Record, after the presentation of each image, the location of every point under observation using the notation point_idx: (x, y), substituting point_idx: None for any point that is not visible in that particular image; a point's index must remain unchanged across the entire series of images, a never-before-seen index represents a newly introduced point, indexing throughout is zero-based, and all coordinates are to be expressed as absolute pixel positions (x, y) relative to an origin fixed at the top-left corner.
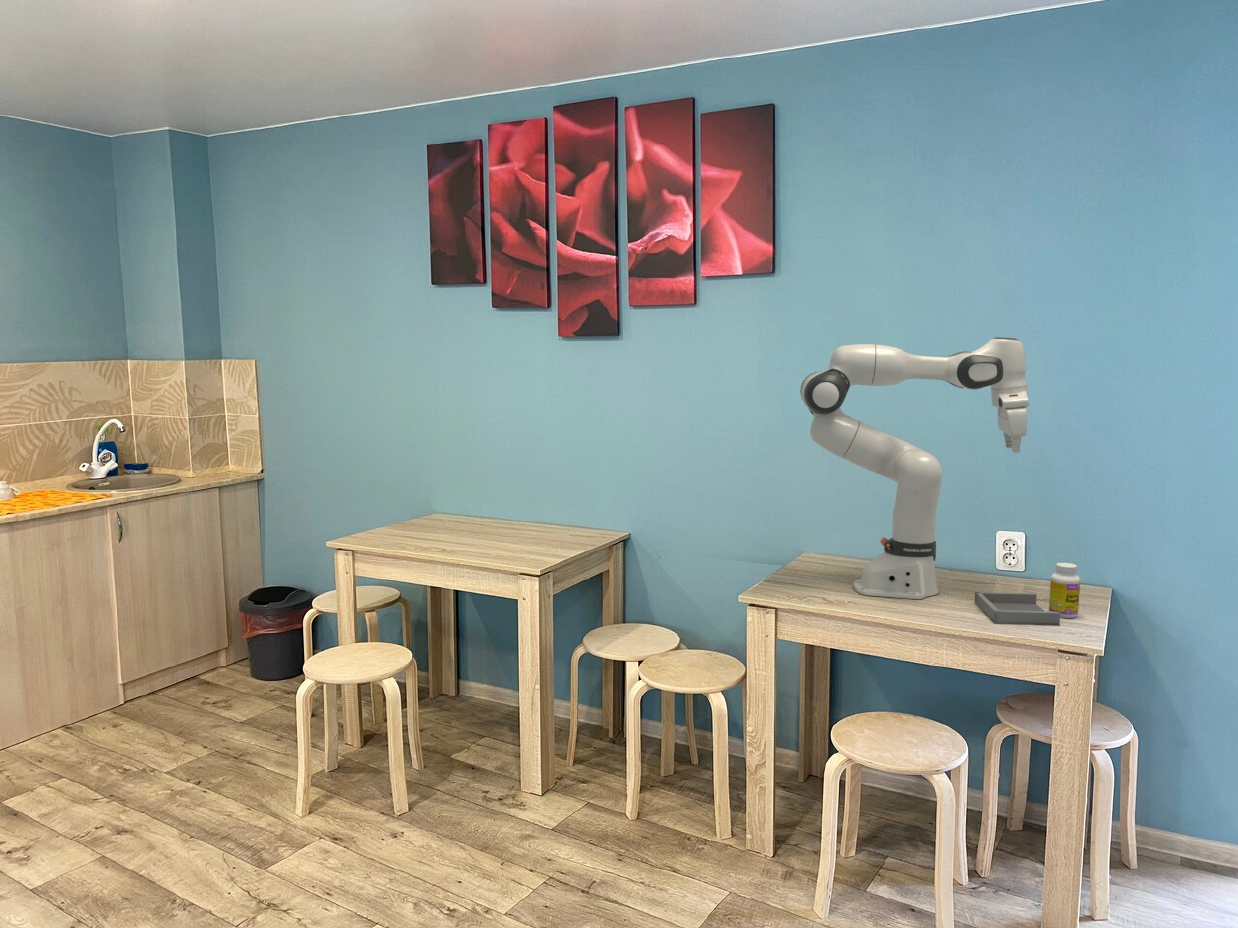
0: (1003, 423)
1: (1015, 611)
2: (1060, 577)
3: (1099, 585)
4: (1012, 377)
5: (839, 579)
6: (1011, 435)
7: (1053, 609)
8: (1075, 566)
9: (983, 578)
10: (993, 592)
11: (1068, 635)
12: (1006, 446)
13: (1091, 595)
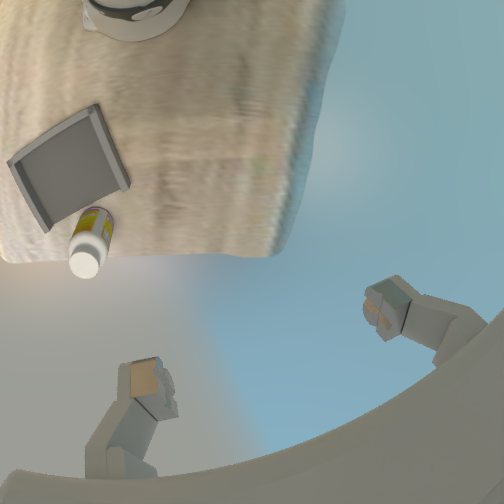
0: (415, 497)
1: (19, 184)
2: (70, 250)
3: (277, 246)
4: None
5: None
6: (7, 477)
7: (80, 217)
8: (82, 277)
9: (270, 99)
10: (102, 131)
11: (22, 239)
12: (374, 289)
13: (220, 242)
